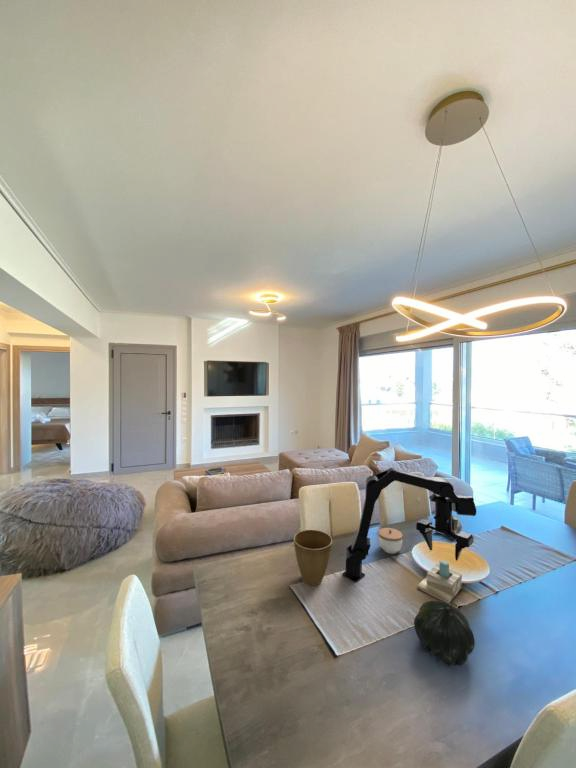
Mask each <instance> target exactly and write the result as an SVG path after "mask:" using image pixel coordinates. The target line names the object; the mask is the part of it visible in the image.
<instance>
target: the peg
mask: <svg viewBox="0 0 576 768" xmlns="http://www.w3.org/2000/svg"><path fill="white" fill-rule="evenodd" d="M438 565H439V575H440V576H442V577H444V578H447V579H449V569H450V563H449V562H448V561H445V560H440V561H439V564H438Z"/></svg>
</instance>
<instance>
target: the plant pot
mask: <svg viewBox="0 0 576 768" xmlns="http://www.w3.org/2000/svg"><path fill="white" fill-rule="evenodd" d="M293 544H294V551H295V557H296V561H297V566H298V568H299V572H300V575H301V578H302V580H303V583H305V584H306V585H308V586H318V585H320V584H321V583H322V581H323V579H324V576H325V574H326V570H327V568H328V564H329V560H330V555H331V552H332V547H333V539H332V536H330V534H329V533H328V532H327V533H326V532H324V531H322V530H318V529H305V530H301V531H299V532H298V531H297V533H295V535H294V537H293Z"/></svg>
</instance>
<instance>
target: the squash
mask: <svg viewBox="0 0 576 768" xmlns="http://www.w3.org/2000/svg"><path fill="white" fill-rule="evenodd" d="M413 624H414V625H413V626H414V627H413V628H414V631H415V635H416V636H417V638H418V639H419V641H420V642H421V645H422V647H423V648H424V650H425V651H426V652H428V653H431V655H432V656H433V657H435V658H438V659H439V658H440V659H441V661H442V662H443V664H445V665H447V666H448V667H449V666H452V665H453V664H455V665H458V666H459V665H462V664H465V663H466V662H467V660H468V657H469V655H470V654H472V652H473V651H474V649H475V644H476V642H475V641H476V640H475V637H474V633H473V630H472V628H471V626H470V623H469V621H468V619H467V617H466V615H465V614H464V613H463V612H462V611H461V610H459V608H456V607H455V606H453V605H452V604H450V603H449V604H448V603H446V602H444V601H442V600H429V601H425V602H423V603H422V604H421V606H420V608H419V610H418V612H417V614H416V616H415V618H414V621H413Z"/></svg>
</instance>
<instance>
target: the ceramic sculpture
mask: <svg viewBox="0 0 576 768" xmlns="http://www.w3.org/2000/svg"><path fill="white" fill-rule="evenodd" d="M453 517H454V519H456V520H458V525H457V529H456V528H455V530H452V532H454V533H457V534H458V533H460V532H461V531H462V529H463V526H462V523H461V520H460V518H459V516H453ZM449 538H450V539H453V538H452V537H449Z"/></svg>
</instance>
